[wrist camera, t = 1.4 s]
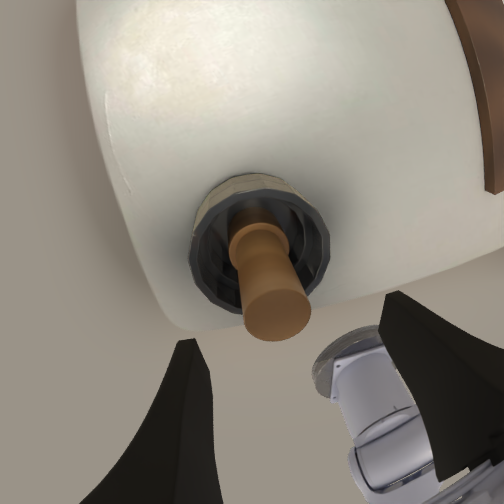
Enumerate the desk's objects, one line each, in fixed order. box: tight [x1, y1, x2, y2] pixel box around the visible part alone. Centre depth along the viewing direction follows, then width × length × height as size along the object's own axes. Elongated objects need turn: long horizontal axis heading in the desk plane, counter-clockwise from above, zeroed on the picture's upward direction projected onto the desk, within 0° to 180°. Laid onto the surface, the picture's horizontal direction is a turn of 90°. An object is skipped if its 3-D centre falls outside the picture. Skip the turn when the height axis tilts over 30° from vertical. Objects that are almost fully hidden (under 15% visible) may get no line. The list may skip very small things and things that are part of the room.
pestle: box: [227, 207, 311, 341], centre depth 15 cm, size 4×4×9 cm
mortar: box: [188, 173, 330, 315], centre depth 18 cm, size 8×8×4 cm
